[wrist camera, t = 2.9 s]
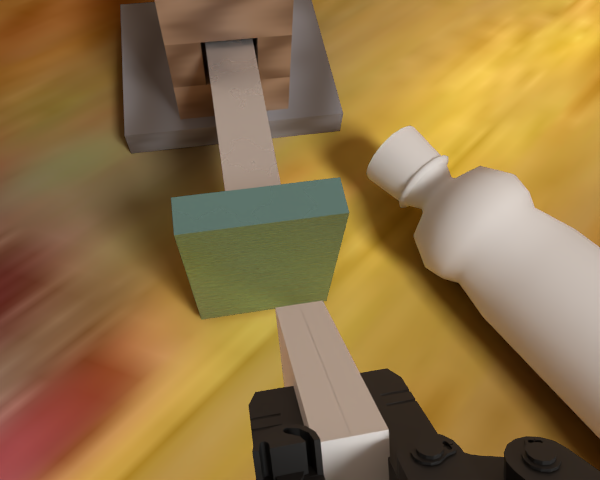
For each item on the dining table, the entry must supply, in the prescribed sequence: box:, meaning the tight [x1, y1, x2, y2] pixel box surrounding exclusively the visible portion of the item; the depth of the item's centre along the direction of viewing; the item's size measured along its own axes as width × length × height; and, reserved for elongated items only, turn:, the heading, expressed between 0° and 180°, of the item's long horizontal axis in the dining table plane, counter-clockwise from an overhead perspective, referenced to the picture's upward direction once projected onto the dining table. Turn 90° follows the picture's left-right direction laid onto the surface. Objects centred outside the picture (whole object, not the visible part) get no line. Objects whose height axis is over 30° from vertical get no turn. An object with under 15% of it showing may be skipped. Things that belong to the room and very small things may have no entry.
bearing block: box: [120, 0, 343, 153], centre depth 38 cm, size 16×14×12 cm
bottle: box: [366, 126, 600, 439], centre depth 31 cm, size 9×9×30 cm
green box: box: [171, 38, 349, 319], centre depth 33 cm, size 8×18×11 cm, turn 10°
